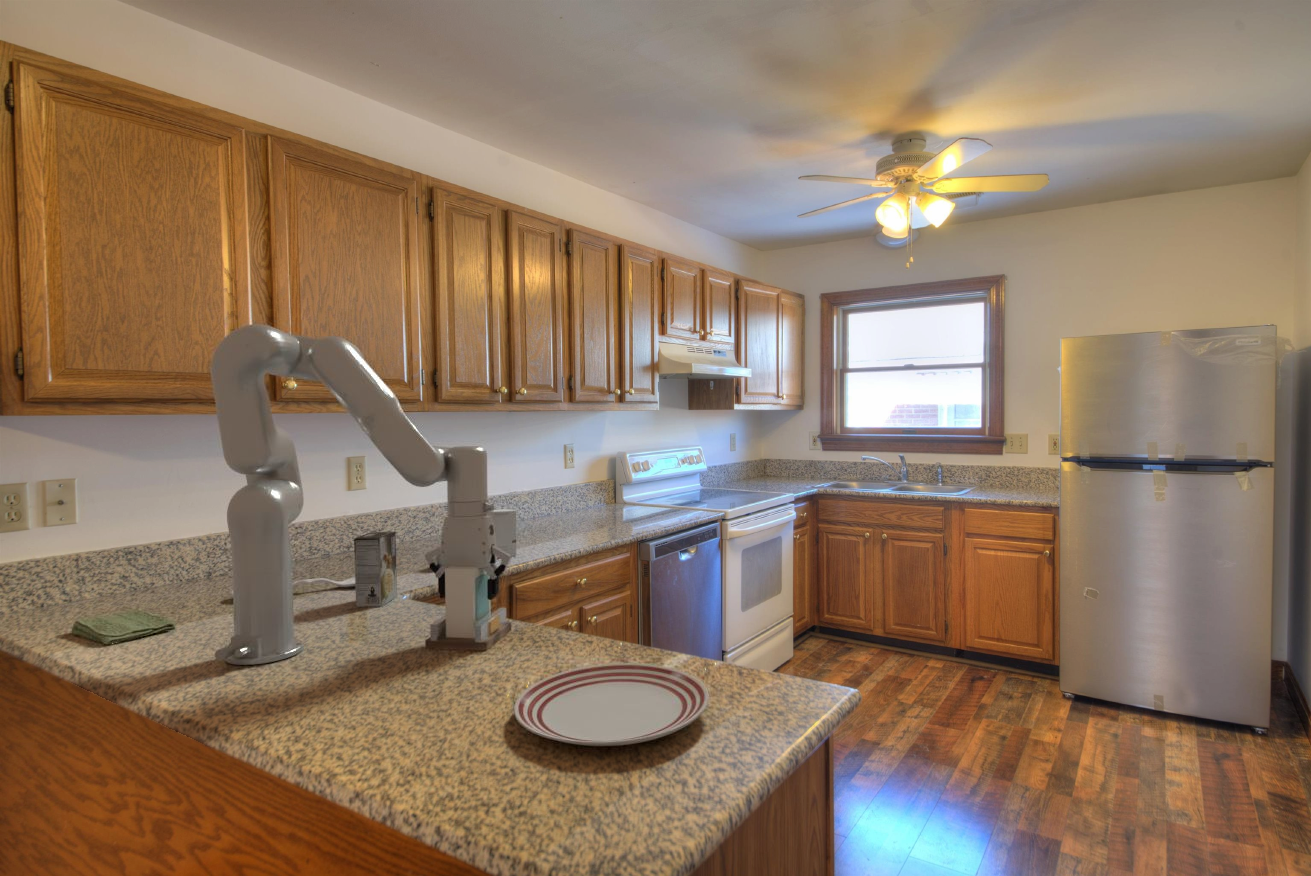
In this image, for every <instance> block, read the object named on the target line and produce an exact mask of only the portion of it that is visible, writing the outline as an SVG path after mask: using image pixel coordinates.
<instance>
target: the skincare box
mask: <svg viewBox="0 0 1311 876" xmlns="http://www.w3.org/2000/svg"><path fill="white" fill-rule="evenodd" d="M488 516H492V519H493V523H494V529H495V536H496V545H497V547H498V548H500V549H501V550H503V551H505V552H507V553H509V554H510V555H511V556H512V557H516V556H517V510H516V509H509V508H508V509H507V508H506V509H494V511H490V512H489V513H488ZM497 559H500V558H499V557H497Z"/></svg>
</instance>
